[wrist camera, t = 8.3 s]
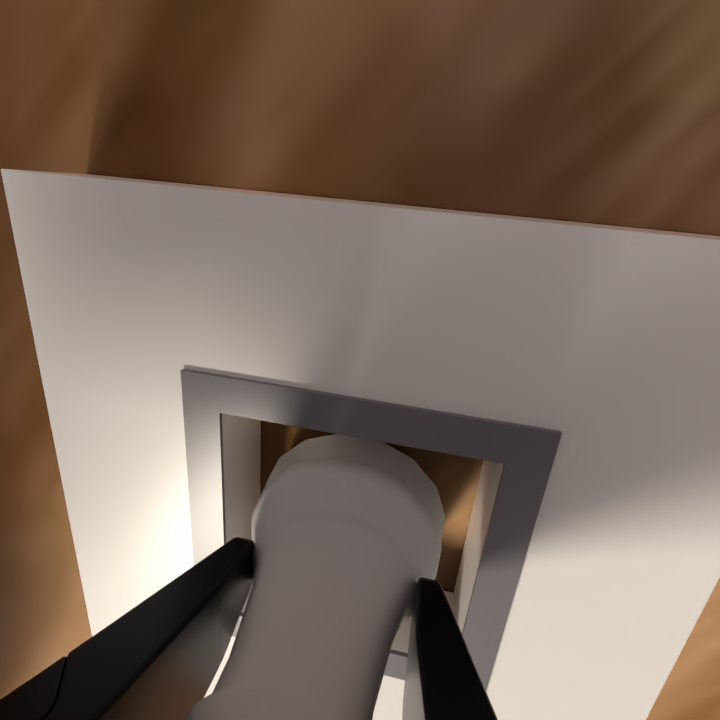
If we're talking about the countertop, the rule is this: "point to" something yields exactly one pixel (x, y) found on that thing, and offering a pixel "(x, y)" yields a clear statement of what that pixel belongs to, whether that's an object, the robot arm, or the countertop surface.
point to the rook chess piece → (328, 582)
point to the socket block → (393, 405)
